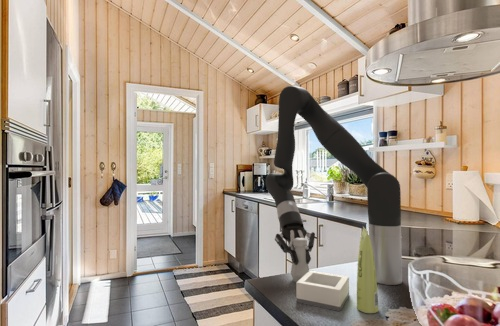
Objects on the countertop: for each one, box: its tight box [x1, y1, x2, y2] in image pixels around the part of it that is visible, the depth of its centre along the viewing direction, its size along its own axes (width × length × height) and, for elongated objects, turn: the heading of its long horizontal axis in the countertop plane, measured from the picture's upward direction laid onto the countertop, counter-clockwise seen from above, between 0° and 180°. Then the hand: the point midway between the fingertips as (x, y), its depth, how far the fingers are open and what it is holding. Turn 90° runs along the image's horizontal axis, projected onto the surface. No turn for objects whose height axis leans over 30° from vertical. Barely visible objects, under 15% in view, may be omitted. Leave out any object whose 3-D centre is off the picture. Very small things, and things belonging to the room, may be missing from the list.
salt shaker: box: [290, 237, 310, 283], centre depth 94 cm, size 6×6×13 cm
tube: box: [356, 226, 379, 314], centre depth 74 cm, size 6×5×20 cm
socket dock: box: [295, 270, 350, 312], centre depth 80 cm, size 11×11×5 cm
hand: (302, 262), depth 92 cm, fingers closed on salt shaker, 3 cm apart
